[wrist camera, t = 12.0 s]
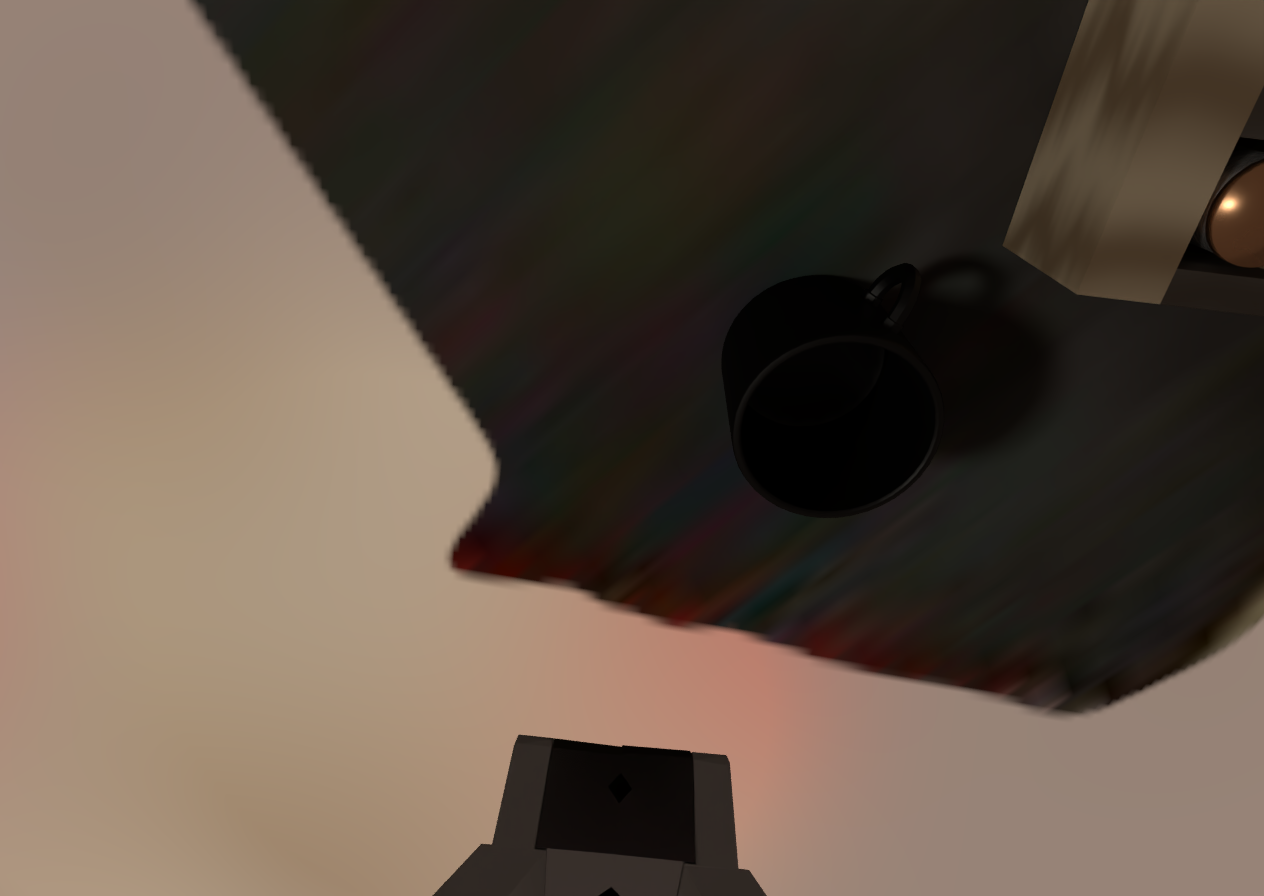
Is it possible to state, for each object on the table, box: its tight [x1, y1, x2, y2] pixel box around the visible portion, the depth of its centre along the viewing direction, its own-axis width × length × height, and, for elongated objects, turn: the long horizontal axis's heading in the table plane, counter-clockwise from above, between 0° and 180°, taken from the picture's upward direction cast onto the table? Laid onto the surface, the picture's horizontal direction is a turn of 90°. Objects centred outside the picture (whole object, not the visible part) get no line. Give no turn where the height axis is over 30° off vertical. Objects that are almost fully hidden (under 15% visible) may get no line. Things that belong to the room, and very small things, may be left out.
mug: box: [722, 263, 944, 518], centre depth 37 cm, size 9×12×9 cm
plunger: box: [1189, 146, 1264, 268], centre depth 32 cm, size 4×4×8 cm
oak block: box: [1003, 0, 1264, 317], centre depth 30 cm, size 16×12×8 cm
